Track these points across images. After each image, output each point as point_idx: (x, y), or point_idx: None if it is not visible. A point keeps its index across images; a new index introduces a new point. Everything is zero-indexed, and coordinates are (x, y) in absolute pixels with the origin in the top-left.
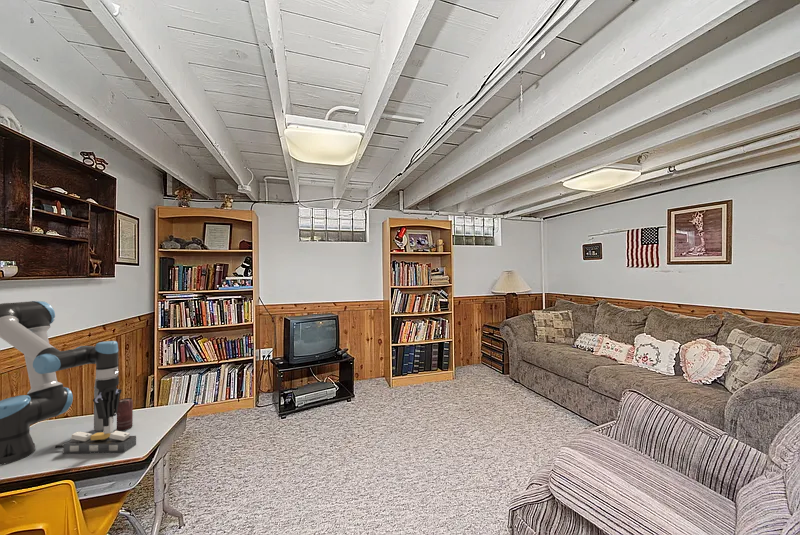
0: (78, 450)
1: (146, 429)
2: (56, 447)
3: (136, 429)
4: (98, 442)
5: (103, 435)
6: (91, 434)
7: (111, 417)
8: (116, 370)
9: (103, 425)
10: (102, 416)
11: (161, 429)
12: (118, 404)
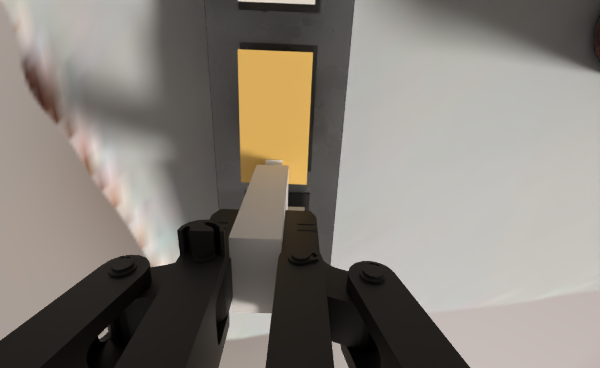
0: None
1: (548, 199)
2: None
3: (576, 133)
4: (233, 127)
5: (241, 169)
6: (306, 3)
7: (257, 310)
8: None
9: (211, 219)
10: (92, 343)
11: (514, 279)
12: None
